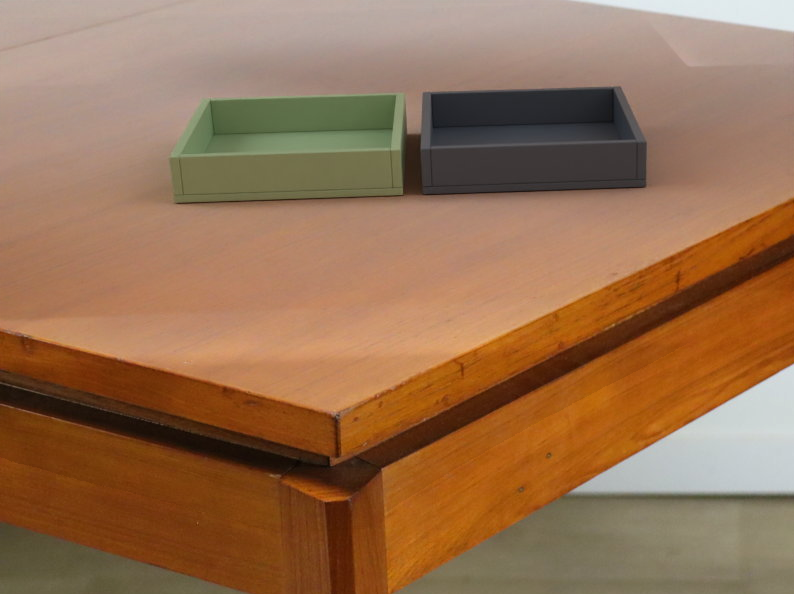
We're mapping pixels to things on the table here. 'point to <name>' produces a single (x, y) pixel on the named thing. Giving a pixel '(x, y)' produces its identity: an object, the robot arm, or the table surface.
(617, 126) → the slate tray
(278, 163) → the green tray
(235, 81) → the table surface
